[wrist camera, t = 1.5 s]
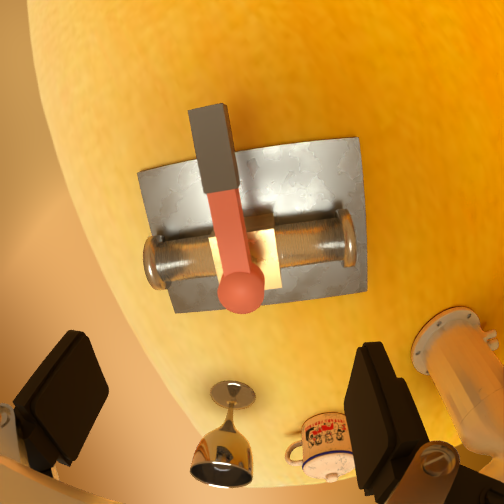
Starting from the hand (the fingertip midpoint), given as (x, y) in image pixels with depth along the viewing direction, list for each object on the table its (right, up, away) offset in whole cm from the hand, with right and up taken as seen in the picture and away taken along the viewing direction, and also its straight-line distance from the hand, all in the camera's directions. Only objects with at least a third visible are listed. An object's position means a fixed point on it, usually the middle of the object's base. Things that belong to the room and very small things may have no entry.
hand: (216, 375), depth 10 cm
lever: (-1, +7, +14) cm, 16 cm away
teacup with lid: (+13, -27, +38) cm, 48 cm away
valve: (+2, +7, +25) cm, 26 cm away
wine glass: (-2, -18, +35) cm, 40 cm away
